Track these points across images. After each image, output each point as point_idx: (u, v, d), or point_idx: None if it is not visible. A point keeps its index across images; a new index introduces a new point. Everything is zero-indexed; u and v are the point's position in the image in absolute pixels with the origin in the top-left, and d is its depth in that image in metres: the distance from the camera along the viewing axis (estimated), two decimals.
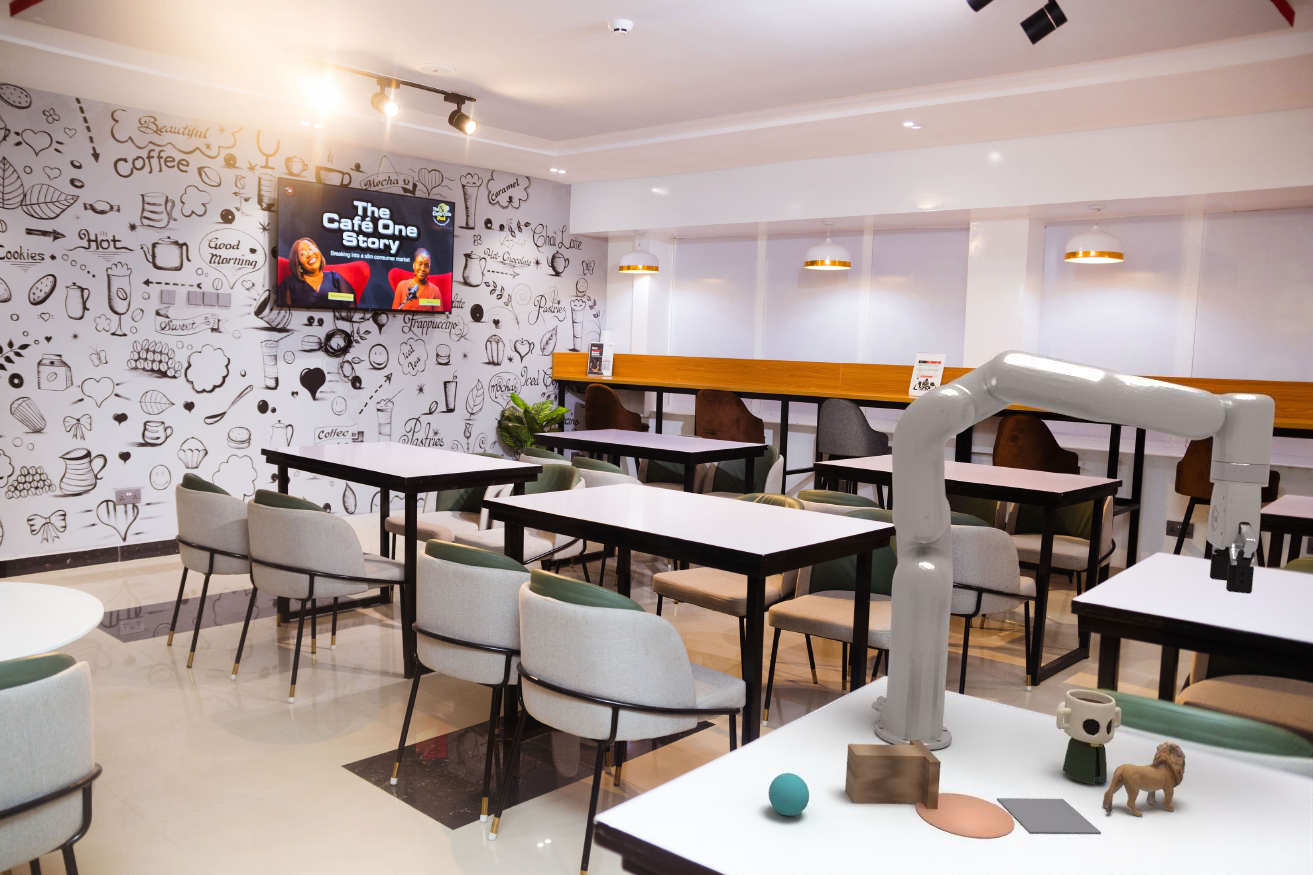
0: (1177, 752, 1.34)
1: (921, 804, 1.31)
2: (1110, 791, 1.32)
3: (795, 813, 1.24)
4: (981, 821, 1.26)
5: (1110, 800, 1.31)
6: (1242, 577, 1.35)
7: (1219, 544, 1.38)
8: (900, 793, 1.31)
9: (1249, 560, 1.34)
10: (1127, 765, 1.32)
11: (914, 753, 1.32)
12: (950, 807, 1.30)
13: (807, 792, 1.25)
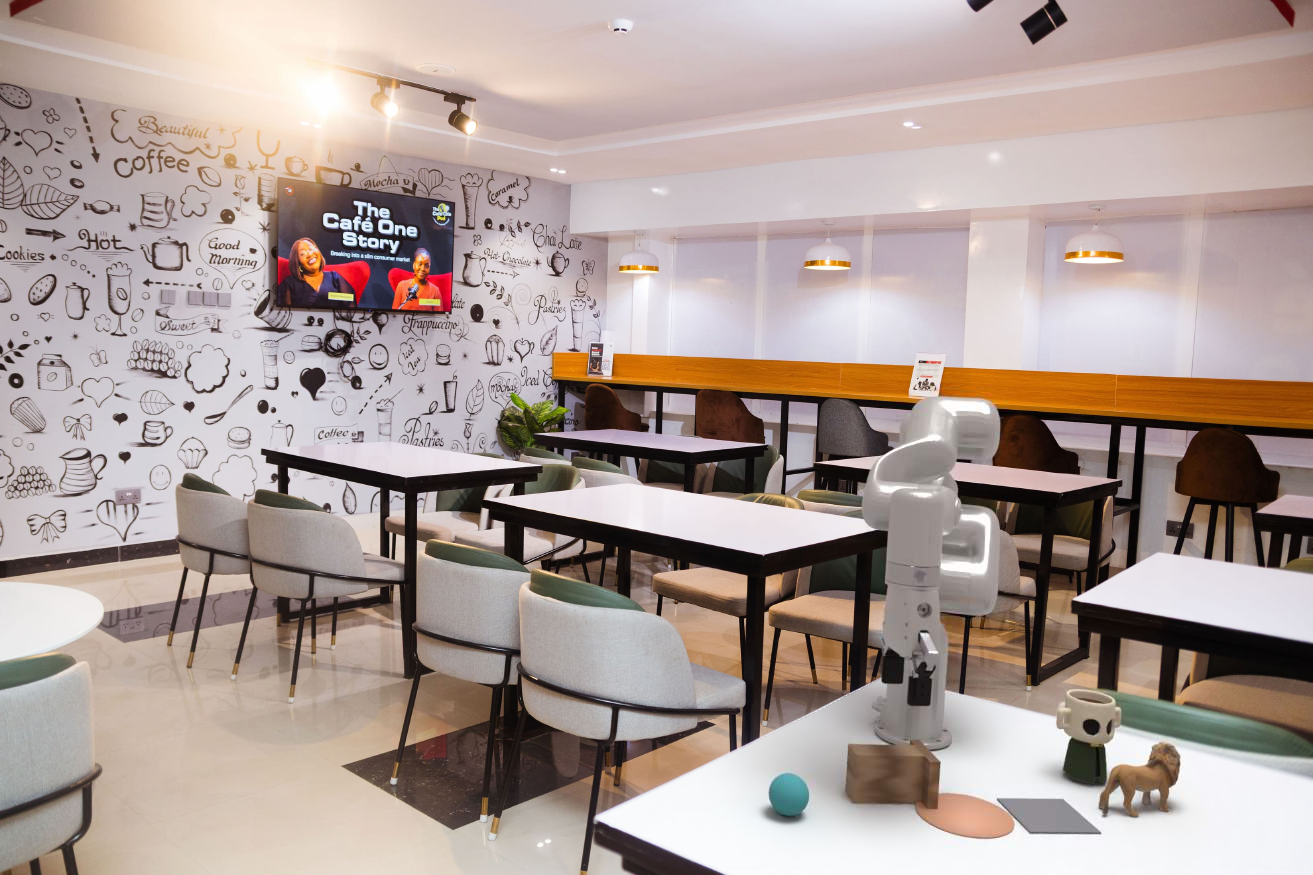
0: (1172, 752, 1.34)
1: (921, 804, 1.31)
2: (1106, 792, 1.31)
3: (795, 813, 1.24)
4: (981, 821, 1.26)
5: (1107, 801, 1.31)
6: None
7: None
8: (900, 793, 1.31)
9: None
10: (1123, 765, 1.32)
11: (914, 753, 1.32)
12: (950, 807, 1.30)
13: (807, 792, 1.25)
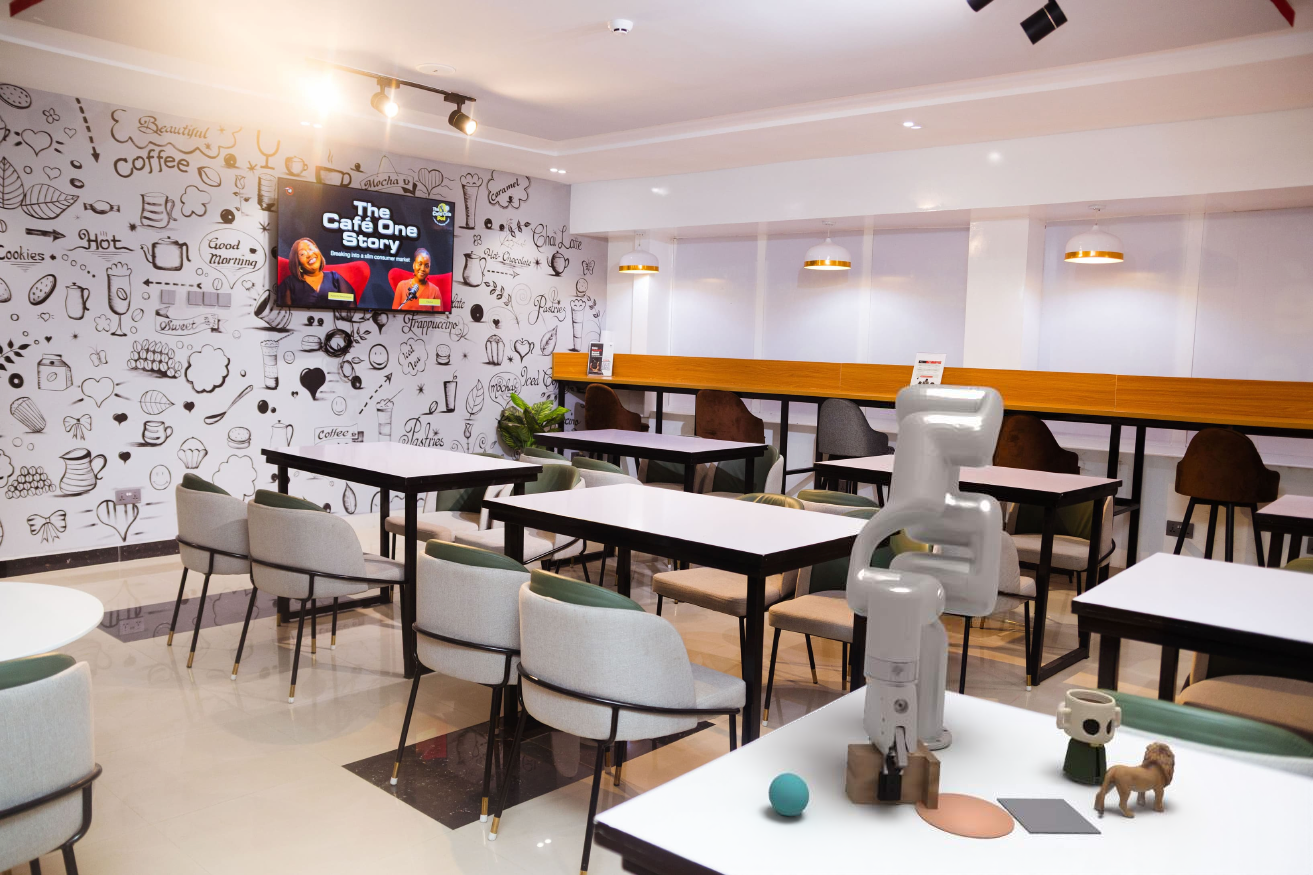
0: (1167, 753, 1.33)
1: (921, 804, 1.31)
2: (1102, 793, 1.31)
3: (795, 813, 1.24)
4: (981, 821, 1.26)
5: (1102, 802, 1.31)
6: None
7: None
8: None
9: None
10: (1118, 766, 1.32)
11: None
12: (950, 807, 1.30)
13: (807, 792, 1.25)
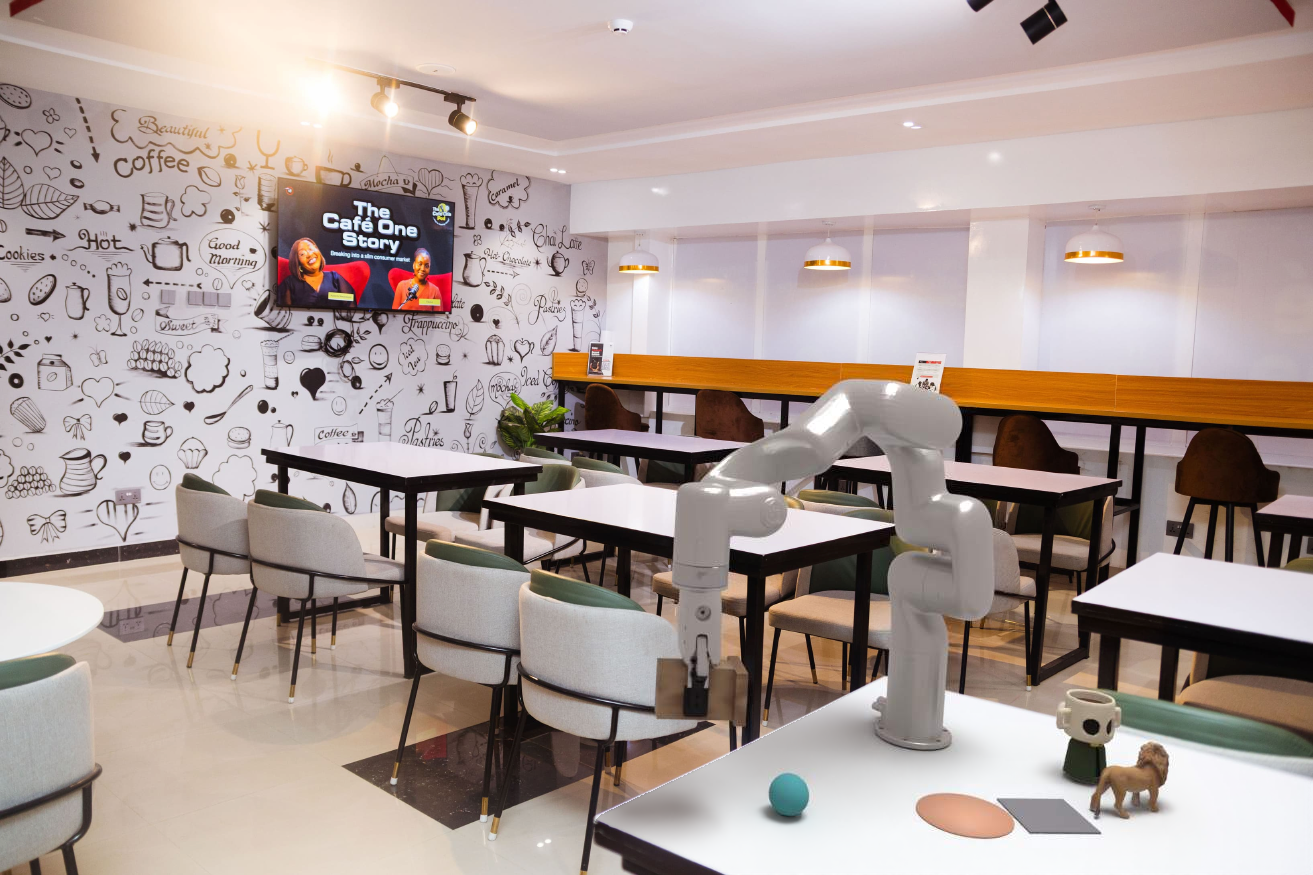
0: (1161, 752, 1.33)
1: (921, 804, 1.31)
2: (1098, 793, 1.31)
3: (795, 813, 1.24)
4: (981, 821, 1.26)
5: (1098, 803, 1.30)
6: None
7: None
8: None
9: None
10: (1114, 767, 1.31)
11: (724, 666, 1.23)
12: (950, 807, 1.30)
13: (807, 792, 1.25)
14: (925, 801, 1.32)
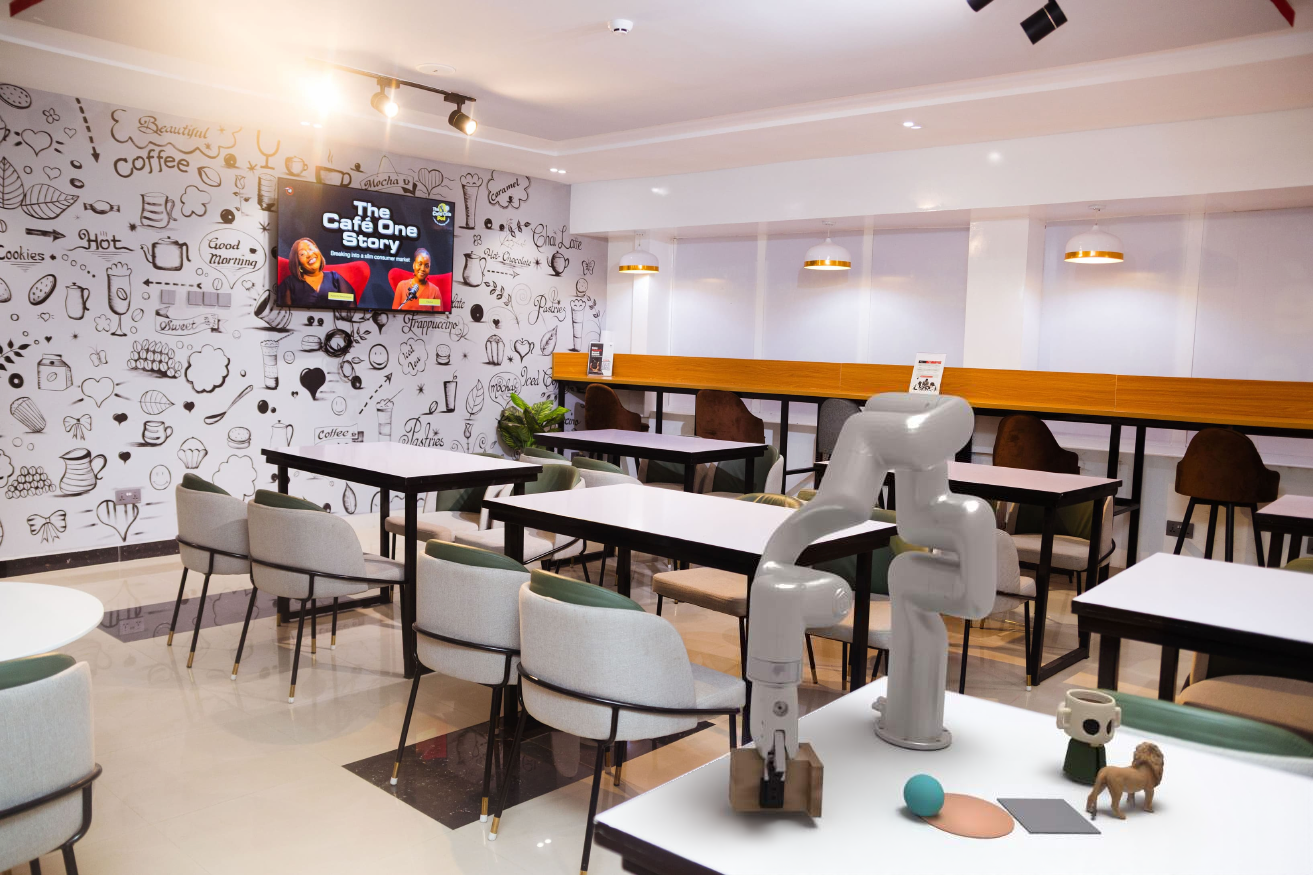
0: (1156, 752, 1.33)
1: None
2: (1094, 794, 1.30)
3: (927, 814, 1.26)
4: (981, 821, 1.26)
5: (1095, 804, 1.30)
6: None
7: None
8: None
9: None
10: (1110, 767, 1.31)
11: (798, 757, 1.25)
12: (950, 807, 1.30)
13: None
14: None
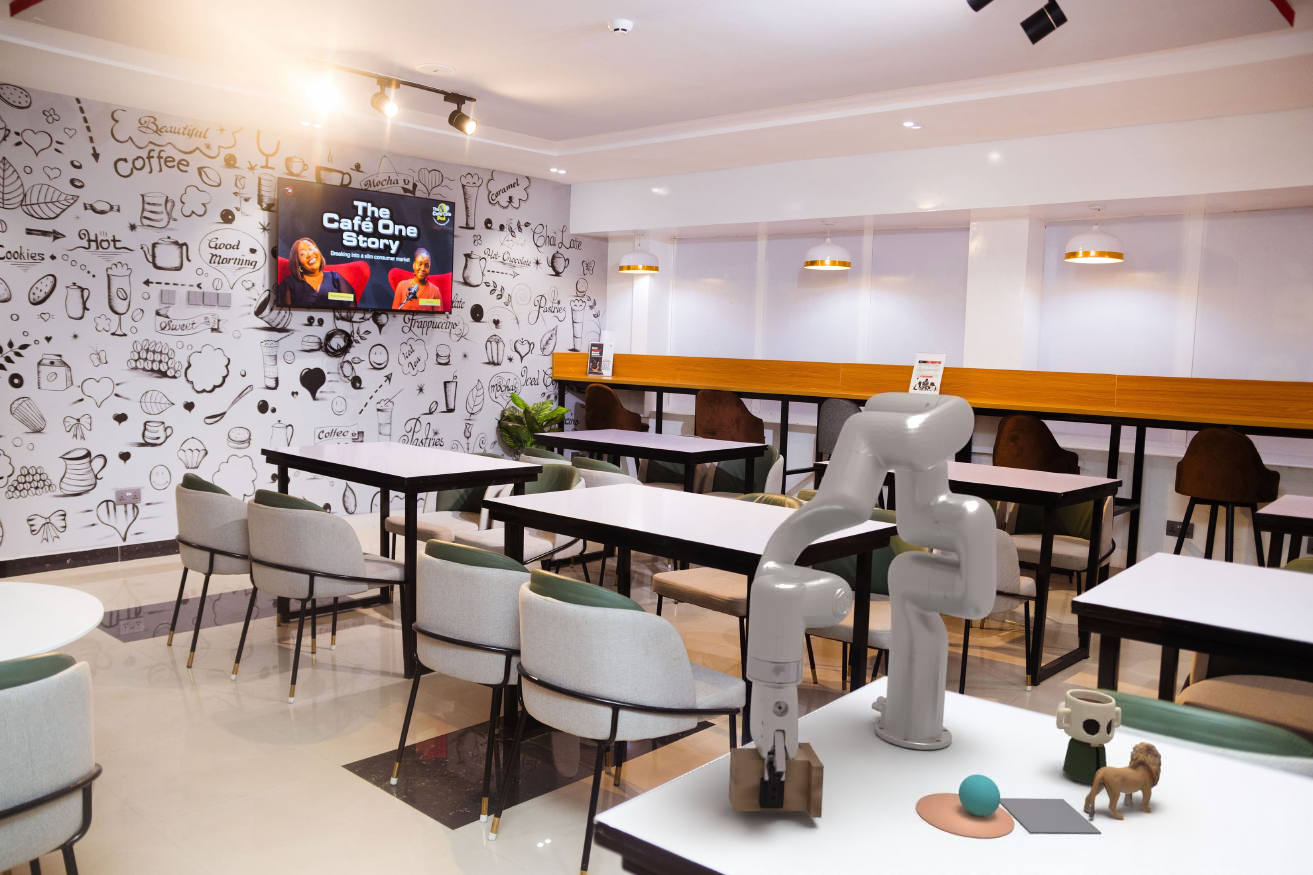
0: (1154, 753, 1.33)
1: (921, 804, 1.31)
2: (1092, 795, 1.30)
3: (985, 789, 1.27)
4: (981, 821, 1.26)
5: (1093, 805, 1.30)
6: None
7: None
8: None
9: None
10: (1108, 768, 1.31)
11: (798, 757, 1.25)
12: (950, 807, 1.30)
13: (967, 801, 1.27)
14: (925, 801, 1.32)
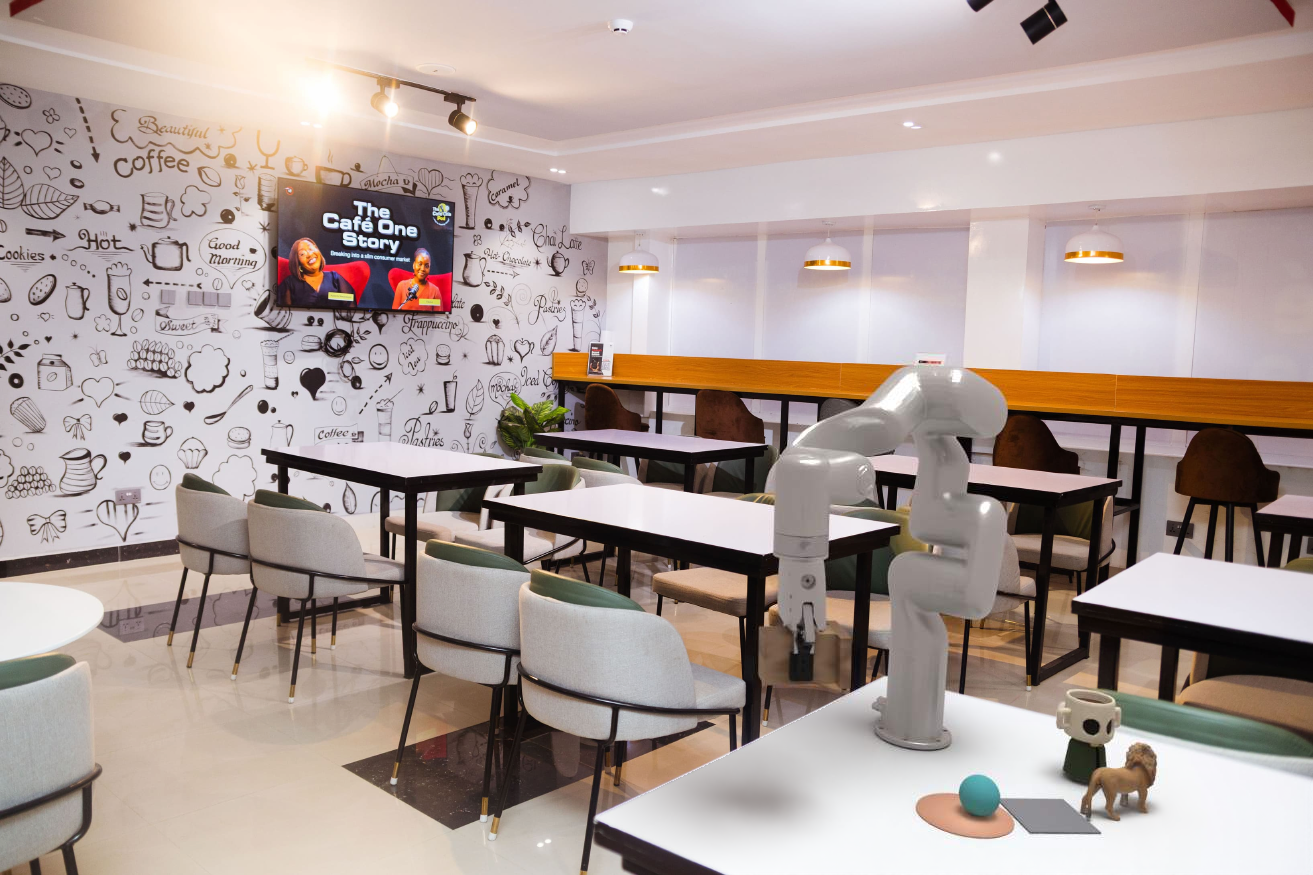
0: (1150, 753, 1.33)
1: (921, 804, 1.31)
2: (1089, 796, 1.30)
3: (985, 789, 1.27)
4: (981, 821, 1.26)
5: (1089, 806, 1.29)
6: None
7: None
8: None
9: None
10: (1104, 768, 1.30)
11: (826, 632, 1.27)
12: (950, 807, 1.30)
13: (967, 801, 1.27)
14: (925, 801, 1.32)
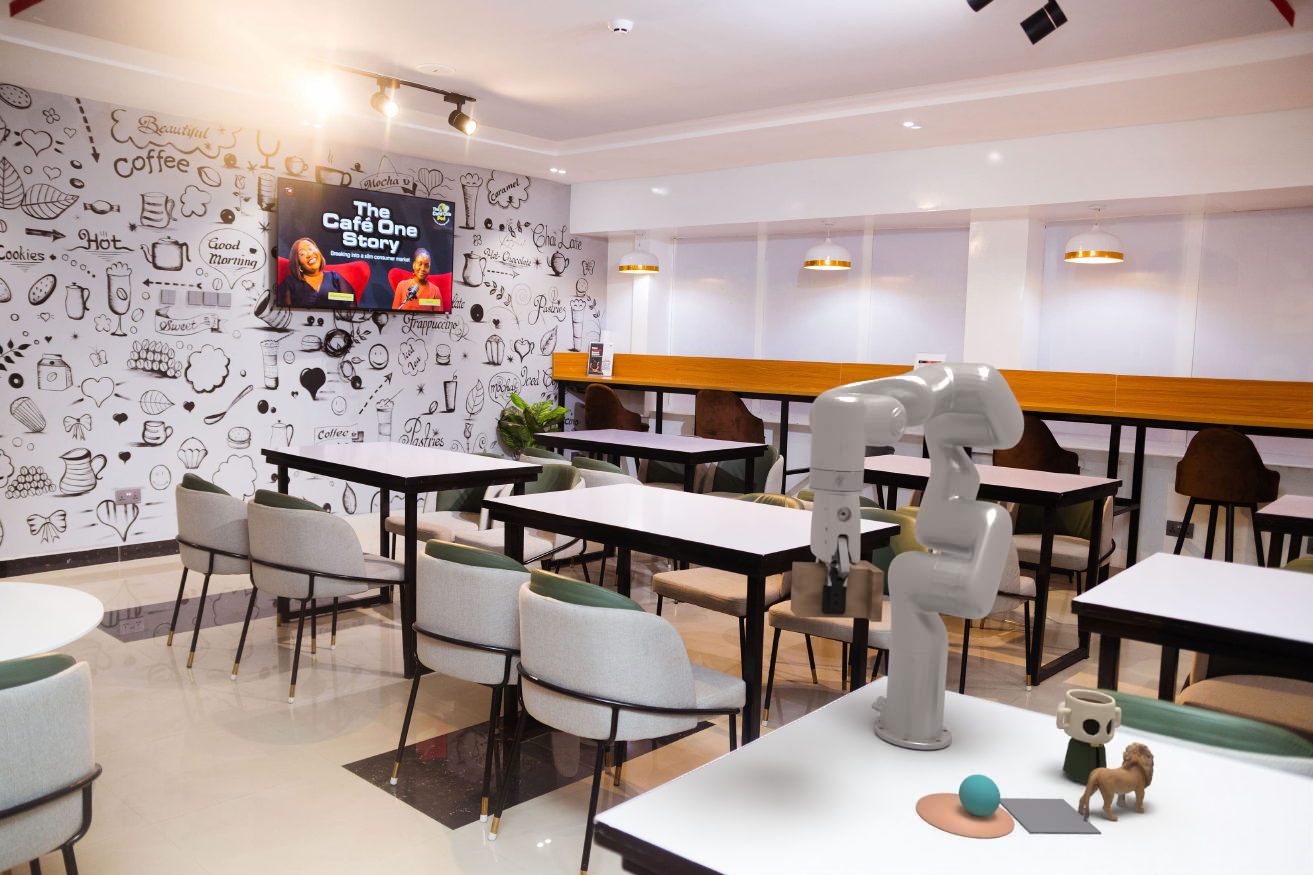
0: (1147, 753, 1.33)
1: (921, 804, 1.31)
2: (1086, 796, 1.29)
3: (985, 789, 1.27)
4: (981, 821, 1.26)
5: (1087, 806, 1.29)
6: None
7: None
8: None
9: None
10: (1102, 769, 1.30)
11: (858, 567, 1.30)
12: (950, 807, 1.30)
13: (967, 801, 1.27)
14: (925, 801, 1.32)
